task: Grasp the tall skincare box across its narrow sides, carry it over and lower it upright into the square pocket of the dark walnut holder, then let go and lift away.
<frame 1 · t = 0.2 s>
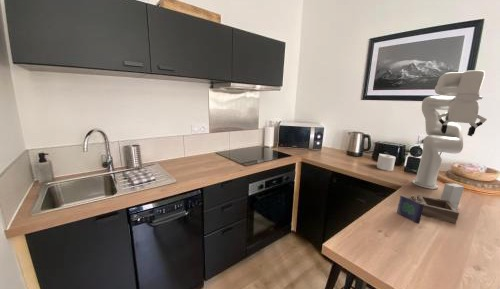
hand: (456, 134, 102), 36 cm above the worktop, tool pointing down, fingers open, 9 cm apart
skincare box: (447, 207, 104), on the worktop
holder: (434, 212, 98), on the worktop
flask: (407, 218, 93), on the worktop
toilet tissue: (383, 168, 160), on the worktop
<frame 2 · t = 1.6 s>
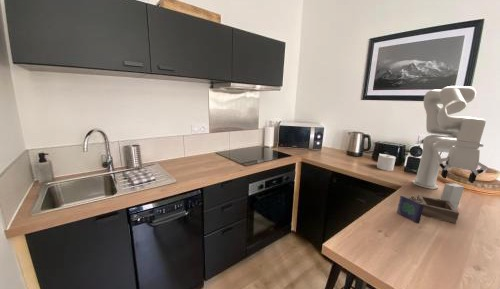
hand: (456, 179, 100), 15 cm above the worktop, tool pointing down, fingers open, 9 cm apart
nothing on the worktop moved.
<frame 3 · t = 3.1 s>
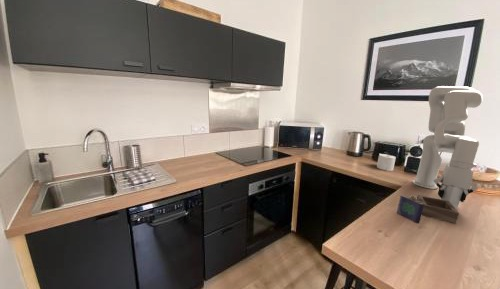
hand: (450, 198, 103), 5 cm above the worktop, tool pointing down, fingers closed on skincare box, 7 cm apart
skincare box: (447, 207, 104), on the worktop, touching gripper
everything else where it was.
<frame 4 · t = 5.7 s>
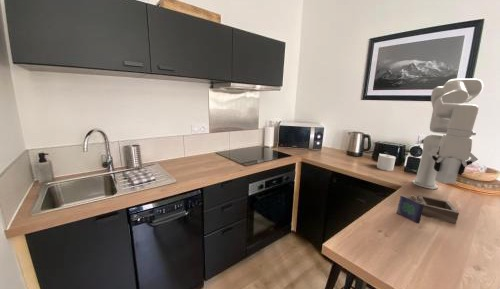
hand: (447, 172, 94), 20 cm above the worktop, tool pointing down, fingers closed on skincare box, 7 cm apart
skincare box: (444, 182, 95), point 15 cm above the worktop, touching gripper
everything else where it was.
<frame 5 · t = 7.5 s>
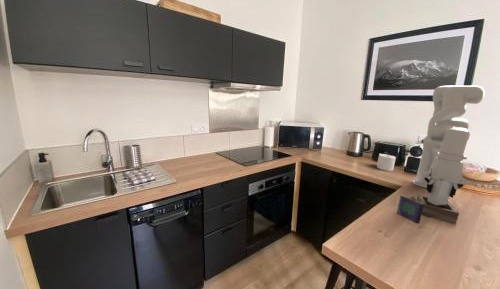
hand: (439, 193, 96), 10 cm above the worktop, tool pointing down, fingers closed on skincare box, 7 cm apart
skincare box: (436, 203, 97), point 5 cm above the worktop, touching gripper
everything else where it was.
when the fingers open (7 cm above the worktop, at t = 8.7 s): skincare box stays where it is, resting on holder.
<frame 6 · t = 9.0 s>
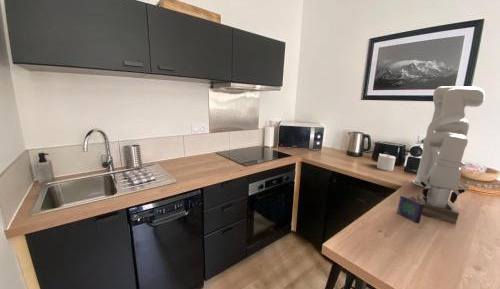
hand: (438, 198, 96), 7 cm above the worktop, tool pointing down, fingers open, 9 cm apart
skincare box: (434, 211, 98), point 1 cm above the worktop, touching holder
everything else where it was.
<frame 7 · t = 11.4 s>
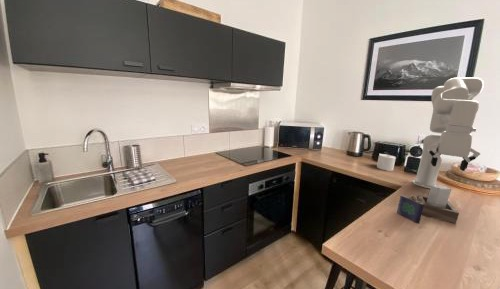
hand: (447, 167, 93), 22 cm above the worktop, tool pointing down, fingers open, 9 cm apart
nothing on the worktop moved.
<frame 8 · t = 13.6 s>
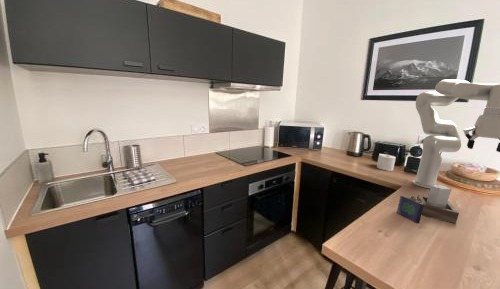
hand: (484, 150, 96), 30 cm above the worktop, tool pointing down, fingers open, 9 cm apart
nothing on the worktop moved.
at the end: skincare box 0.2 cm off-centre on the holder, point 0.8 cm above the holder's base; skincare box tilted 0°; the gripper is holding nothing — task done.
